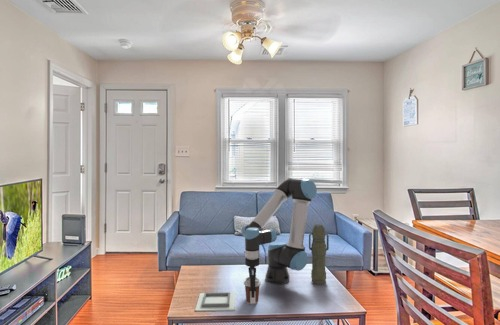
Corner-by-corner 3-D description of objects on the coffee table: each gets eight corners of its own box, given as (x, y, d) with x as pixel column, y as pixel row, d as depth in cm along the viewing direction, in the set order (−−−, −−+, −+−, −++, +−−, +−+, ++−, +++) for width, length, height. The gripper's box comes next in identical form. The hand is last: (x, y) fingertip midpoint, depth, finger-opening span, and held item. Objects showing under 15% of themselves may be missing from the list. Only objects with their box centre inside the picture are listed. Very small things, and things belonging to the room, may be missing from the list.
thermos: (330, 284, 190) (330, 226, 190) (310, 285, 190) (310, 227, 190) (326, 279, 199) (326, 223, 199) (307, 279, 199) (307, 224, 199)
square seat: (235, 293, 178) (235, 290, 178) (235, 310, 158) (235, 306, 158) (200, 294, 178) (200, 290, 178) (195, 311, 158) (195, 307, 158)
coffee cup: (241, 303, 166) (241, 281, 166) (247, 296, 174) (247, 275, 174) (257, 306, 163) (257, 283, 163) (263, 299, 171) (263, 277, 171)
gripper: (244, 250, 181) (244, 287, 181) (245, 265, 156) (245, 308, 156) (257, 250, 181) (258, 287, 181) (260, 265, 156) (260, 308, 156)
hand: (252, 297), depth 168 cm, fingers open, 13 cm apart
